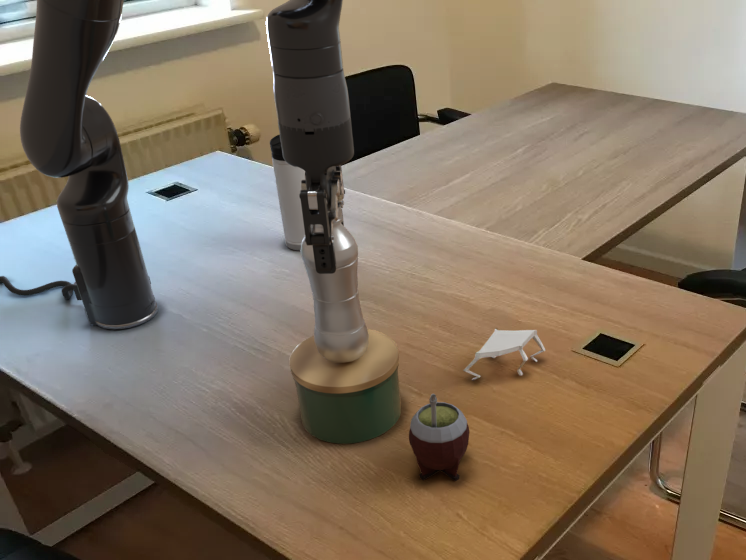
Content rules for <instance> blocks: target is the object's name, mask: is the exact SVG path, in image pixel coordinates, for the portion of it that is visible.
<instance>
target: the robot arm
mask: <svg viewBox="0 0 746 560" xmlns="http://www.w3.org/2000/svg"><path fill="white" fill-rule="evenodd" d="M124 2H125V0H36V9H35V11H36V13H35V22H34V23H35V24H34V31H33V32H34V33H33V43H32V55H31V64H30V70H29V77H28V82H27V87H26V91H25V95H24V101H23V106H22V110H21V115H20V120H19V121H20V122H19V137H20V143H21V147H22V150H23V152H24V154H25V156H26V158H27V160H28V161H29V163H30V164H31V165H32V166H33V167H34V168H35V170H37V171H38V172H39V173H41V174H43V175H45V176H46V177H50V178H54V179H63V178H67V181H66V183H65V185H64V187H63V188H62V190H61V191H60V193H59V194H58V195H57V198H56V207H57V211H58V214H59V218H60V220H61V223H62V227H63V229H64V232H65V235H66V238H67V241H68V244H69V246H70V250H71V253H72V256H73V259H74V262H75V265H74V266H73V268H72V271H71V273H72V275H73V277H74V278H73V279H74V282H73V283H72V282H69V281H67V280H56V281H52V282H48V283H45V284H43V285H41V286H37V287H34V288H30V289H29V288H28V289H19V288H17V287H15V286H14V285H13V284H12V283H11V282H10V280H9V279H8V278H7V276H5V275H0V284H3V286H4V287H5V288H6V289H7V290H8V291H9V292H10V293H12V294H14V295H17V296H20V297H21V296H22V297H26V296H27V297H28V296H34V295H37V294H41V293H43V292H47V291H50V290H52V289H56V288H59V287H62V289H61V294H62V296H63V298H64V299H65V300H70V299H71V297H72V295H73V293H74V295H75V298H76V300H77V301H81V303H82V305H83V308H84V311H85V314H86V317H87V320H88V323H89V326H98V327H100V328H102V329H106V330H125V329H130V328H134V327H138V326H140V325H142V324H145V323H146V322H148V321H150V320H151V319H153V318H154V317H155V316H156V315H157V314H158V311H159V308H158V307H159V306H158V303H157V301H156V298H155V295H154V291H153V288H152V282H151V278H150V276H149V274H148V270H147V266H146V262H145V259H144V255H143V251H142V248H141V244H140V240H139V236H138V234H137V231H136V227H135V222H134V220H133V215H132V213H131V208H130V204H129V201H128V194H129V189H130V188H129V187H130V185H129V184H130V183H129V177H128V174H127V169H126V165H125V159H124V155H123V149H122V145H121V142H120V136H119V133H118V131H117V127H116V126H115V124H114V121H113V119H112V117H111V115H110V114H109V112H108V111H107V110H106V109H105V107H104V106H103V105H102V104H101V103H100V102H99V101H97V100H96V99H94V98H93V97H91V96H88V95H87V93H88V90H89V88H90V86H91V83H92V81H93V78H94V76H95V75H96V73H97V71H98V69H99V68H100V66H101V64H102V63H103V61H104V59H105V57H106V56H107V54H108V52H109V50H110V49H111V47H112V44H113V42H114V40H115V38H116V36H117V33H118V31H119V28H120V24H121V20H122V15H123V8H124V7H123V6H124ZM343 3H344V0H288V1H286V2H284V3H282V4H280V5H278V6H277V7H274V8H272V10H270V11H269V12H268V14H267V16H266V21H265V25H266V26H265V27H266V34H267V42H268V48H269V49H268V50H269V54H270V62H271V69H272V76H273V77H272V78H273V99H274V106H275V112H276V120H277V127H278V132H279V134H280V140H281V147H282V153H283V158H284V160H285V161H286V162H287V163H288V164H290V165H291V166H294V167H299V168H301V169H303V170H304V171H305V180H302V181H301V191H300V194H299V197H300V199H301V207H302V214H303V222H304V230H305V242H306V244H307V245H312V246H313V253H314V260H315V267H316V272H317V273H319V274H333V273H335V271H336V268H337V266H336V258H335V250H334V242H333V240H334V235H333V224H334V223H335V222H336V221H337V220H338V202H339V203H340V204H341V210H342V211H343V208H344V205H345V201H344V198H345V194H346V189H345V187H344V177H343V169H342V166H343V165H345V164H347V163H348V162H350V160H352V158H353V157H354V155H355V147H354V146H355V145H354V137H353V126H352V118H351V117H352V116H351V108H350V98H349V90H348V89H349V88H348V84H347V80H346V76H345V71H344V62H343V53H342V52H343V51H342V42H341V41H342V40H341V33H340V22H341V15H342V9H343ZM279 134H278V135H279ZM328 211H330V212H329V213H328ZM342 214H343V212H342ZM343 215H344V214H343ZM315 224H320V225H322V226H323V230H324V232H315ZM341 224H342V225H343V226H344V227H345V221H344V220H343V221H342V222H341Z"/></svg>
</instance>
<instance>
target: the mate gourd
mask: <svg viewBox="0 0 746 560" xmlns="http://www.w3.org/2000/svg"><path fill="white" fill-rule="evenodd" d="M428 401H429V403H427V404H424V405H423V406H421V407H420V408H419V409H418V410H417V411H416V413H414V414H413V416H412V418H411V420H410V425H409V431H408V441H409V445H410V447H411V449H412V452H413V455H414V457H415V459H416V464H417V466H418V468H419V471H420V473H419V474H418V477H419V479H420V480H421V481H425V480H427V479H428V478H430V477H432V476H434V475H435V474H438V473H439V472H442V473H443V474H444V475H446V476H447V477H449V478H450V479H451V480H453V481H454V482H457V481H458V480H460V477H461V475H459V474H458V470H459V467H460V462H461V460H462V459H463V457H464V456H465V454H466V452H467V449H468V447H469V440H470V427H469V424H468V419H467V418H466V416H465V414H464V413H463V411H462V410H461V409H459V408H458V407H457V406H455V405H454V404H452V403H447V402H445V401H444V402H443V401H438V397H437V394H435V393H431V394H430V397H429V400H428Z"/></svg>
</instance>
